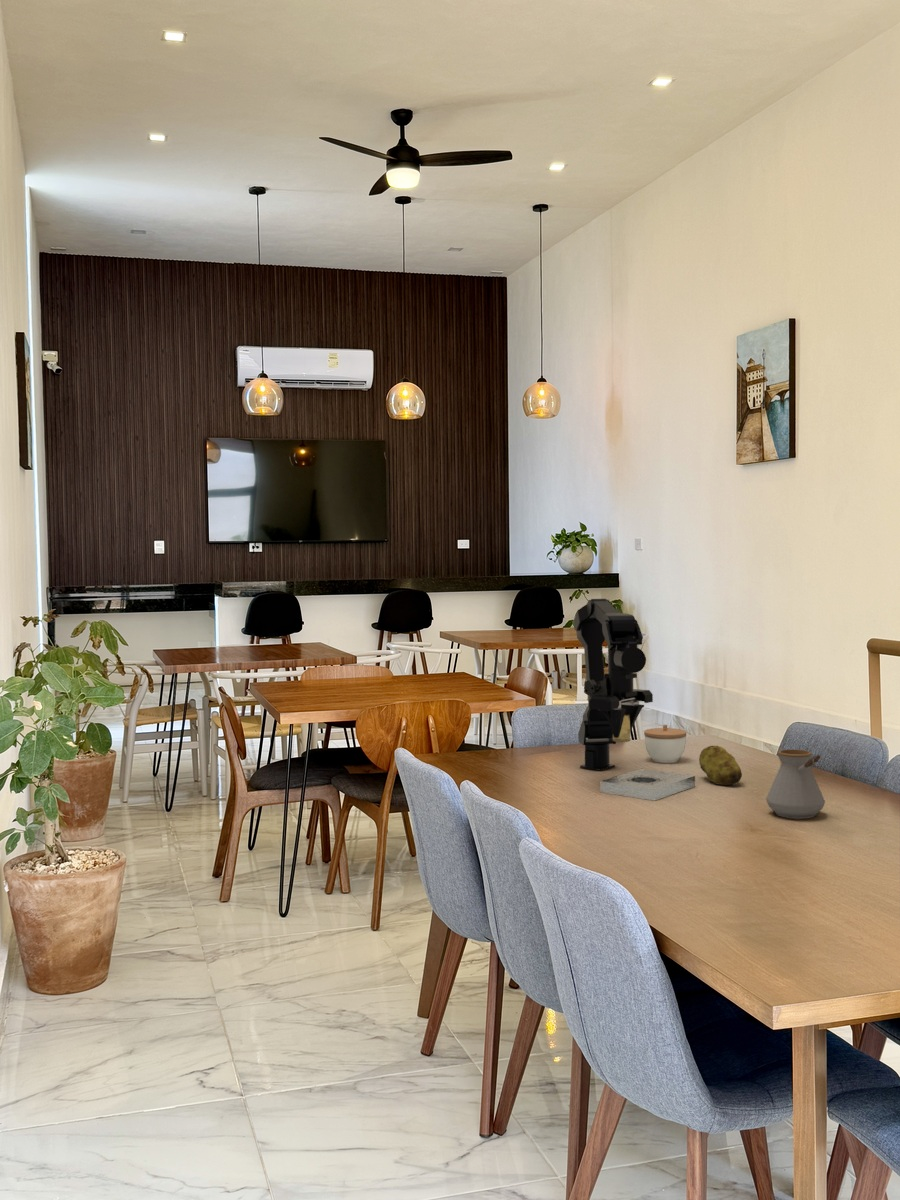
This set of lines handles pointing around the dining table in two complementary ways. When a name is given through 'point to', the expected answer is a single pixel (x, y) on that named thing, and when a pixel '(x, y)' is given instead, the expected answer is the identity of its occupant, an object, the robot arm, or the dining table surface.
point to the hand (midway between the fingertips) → (621, 736)
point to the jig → (647, 784)
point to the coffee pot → (796, 786)
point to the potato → (719, 766)
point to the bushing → (624, 730)
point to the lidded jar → (665, 744)
